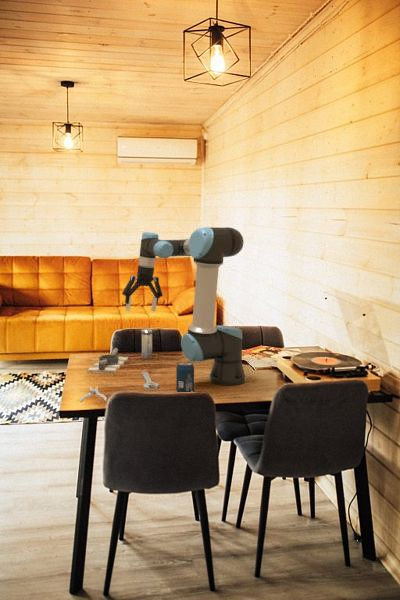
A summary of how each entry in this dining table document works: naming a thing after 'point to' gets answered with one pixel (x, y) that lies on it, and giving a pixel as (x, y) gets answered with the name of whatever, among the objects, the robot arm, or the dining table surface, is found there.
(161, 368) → the dining table surface
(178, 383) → the soda can
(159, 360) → the dining table surface
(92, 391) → the pliers
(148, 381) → the adjustable wrench
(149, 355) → the coupler
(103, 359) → the coupling base
